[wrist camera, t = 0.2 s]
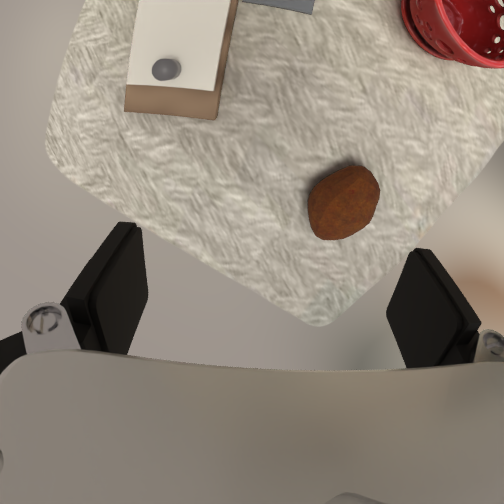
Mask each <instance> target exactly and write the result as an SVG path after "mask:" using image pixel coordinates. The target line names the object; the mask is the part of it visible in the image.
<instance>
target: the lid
mask: <svg viewBox="0 0 504 504" xmlns="http://www.w3.org/2000/svg"><path fill="white" fill-rule="evenodd" d="M230 4H231V0H139V4H138V9H137V14H136V20H135V26H134V31H133V38H132V44H131V51H130V58H129V66H128V74H127V83H126V84H130V85H151V86H166V87H179V88H189V89H199V90H207V91H214V90H215V84H216V78H217V72H218V66H219V61H220V55H221V50H222V44H223V39H224V34H225V29H226V23H227V18H228V14H229V9H230Z"/></svg>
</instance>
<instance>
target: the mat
mask: <svg viewBox="0 0 504 504" xmlns="http://www.w3.org/2000/svg"><path fill="white" fill-rule="evenodd" d="M314 1H315V0H243V1H242V2H246V3H253V4H260V5H266V6H272V7H277V8H283V9H288V10H292V11H297V12H302V13H306V14H310V15H311V14H312V10H313V6H314Z"/></svg>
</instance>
